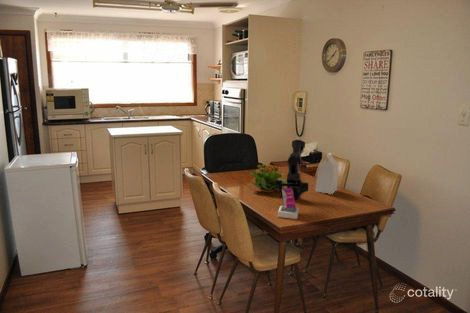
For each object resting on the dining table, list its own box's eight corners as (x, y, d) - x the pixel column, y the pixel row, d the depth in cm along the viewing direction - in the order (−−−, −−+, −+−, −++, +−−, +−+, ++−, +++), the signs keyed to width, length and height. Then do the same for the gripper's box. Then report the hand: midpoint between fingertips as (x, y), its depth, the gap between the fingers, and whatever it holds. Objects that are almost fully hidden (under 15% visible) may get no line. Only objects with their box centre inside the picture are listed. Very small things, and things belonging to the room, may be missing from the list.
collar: (279, 210, 208) (280, 205, 208) (298, 212, 206) (298, 207, 205) (277, 216, 198) (277, 211, 198) (297, 219, 196) (297, 213, 195)
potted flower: (283, 197, 233) (284, 170, 229) (246, 194, 237) (247, 167, 234) (285, 187, 257) (287, 162, 253) (252, 184, 261) (253, 160, 258)
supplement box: (285, 209, 199) (281, 189, 203) (286, 210, 205) (282, 190, 208) (295, 207, 198) (291, 187, 202) (296, 208, 204) (292, 188, 207)
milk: (320, 187, 259) (323, 151, 254) (337, 190, 253) (340, 153, 248) (315, 191, 249) (318, 153, 244) (332, 194, 243) (335, 156, 238)
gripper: (276, 165, 209) (272, 190, 200) (309, 168, 204) (307, 193, 196) (277, 176, 218) (273, 199, 210) (309, 179, 214) (306, 203, 205)
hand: (289, 198), depth 205 cm, fingers open, 9 cm apart
